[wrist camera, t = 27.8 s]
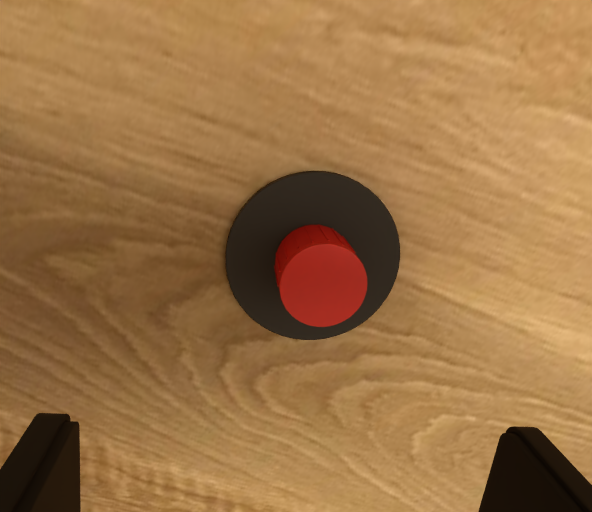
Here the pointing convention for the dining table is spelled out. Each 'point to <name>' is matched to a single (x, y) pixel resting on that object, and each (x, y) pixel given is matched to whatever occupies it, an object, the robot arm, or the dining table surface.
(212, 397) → the dining table surface
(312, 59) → the dining table surface
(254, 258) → the coaster
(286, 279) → the cap
